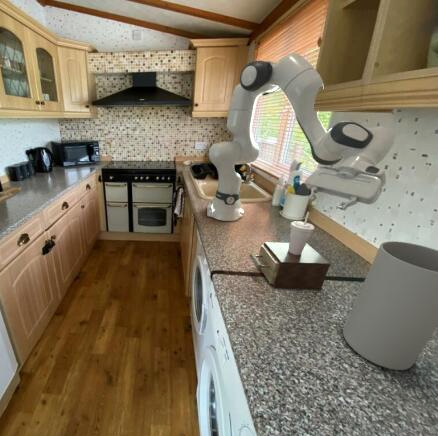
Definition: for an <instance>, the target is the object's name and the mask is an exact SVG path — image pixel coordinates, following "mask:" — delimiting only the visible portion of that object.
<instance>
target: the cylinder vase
mask: <svg viewBox="0 0 438 436" xmlns="http://www.w3.org/2000/svg"><path fill="white" fill-rule="evenodd" d="M437 328H438V249H435V248H431V247H427V246H425V245H421V244H416V243H412V242H405V241H394V240H390V241H383V242H382V243H380V245H379V247H378V249H377V252H376V254H375V256H374V259H373V261H372V263H371V265H370V267H369V270H368V271H367V274H366V276H365V278H364V280H363V283H362V285H361V288H360V290H359V292H358V294H357V296H356V299H355V301H354V303H353V305H352V307H351V310H350V312H349V314H348V316H347V319H346V321H345V323H344V326H343V328H342V336H343V338H344V339H345V341H346V343H347V344H348V345H349V346H350V348H352V349H353V350H354V351H355V352H356V353H357V354H358V355H359V356H361V357H363V358H364V359H366V360H367V361H369V362H371V363H373V364H374V365H377V366H379V367H383V368H386V369H390V370H393V371H405V370H408V369H410V368H411V367H412V366H413V365H414V363H415V362H416V360H417V359H418V358H419V356H420V355H421V353H422V351H423V350H424V348H425V347H426V345H427V343H428V342H429V340H430V338H431V337H432V336H433V335H434V333H435V331H436V329H437Z"/></svg>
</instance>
